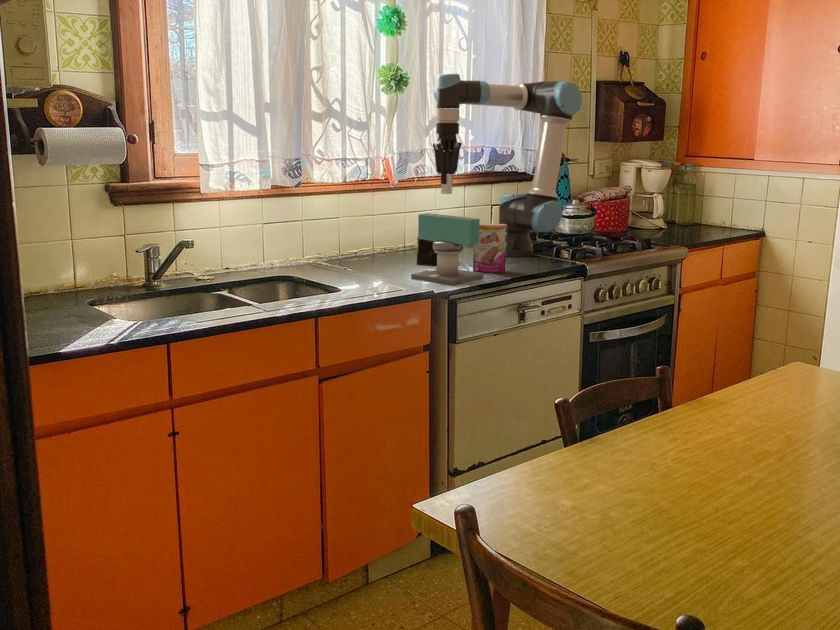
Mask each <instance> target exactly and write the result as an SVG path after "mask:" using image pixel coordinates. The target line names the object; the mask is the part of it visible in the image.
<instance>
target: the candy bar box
mask: <svg viewBox="0 0 840 630" xmlns="http://www.w3.org/2000/svg"><path fill="white" fill-rule="evenodd" d="M506 245H507V224H499V223H486V222H485V223H481V222H479V244H475V245H473V260H472V261H473V262H472V263H473V264H472V271H473V272H479V273H483V274H484V273H487V274H489V273H490V274H494V273H495V274H506V267H507V266H506V264H507V263H506V262H507V256H506Z"/></svg>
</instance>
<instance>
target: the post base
mask: <svg viewBox="0 0 840 630" xmlns="http://www.w3.org/2000/svg"><path fill="white" fill-rule="evenodd" d="M434 252H435V253H437V266H436V267H435V268H426V269H425V270H424V271H419V272H414V273H411V275H410V277H411V278H410V279H412V280H418V281H425V282H430V283H436V284H440V285H446V286H451V287H453V286H456V285H457V286H458V285H460V284H461V285H462V284H464V283H468V282H469V283H470V282H472V281H476V280H480V279H483V278H484V273H483V272H473V270H466V269H459V254H462V252H463V251H462V250H460V251H438V250H434Z"/></svg>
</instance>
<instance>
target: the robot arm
mask: <svg viewBox="0 0 840 630" xmlns="http://www.w3.org/2000/svg"><path fill="white" fill-rule="evenodd" d="M582 96H583V95H582V92H581V90H580V89H579V86H578V85H577V84H576V83H574V82H572V81H570V80H569V81H567V80H552V81H549V80H547V81H544V80H543V81H537V82H528V83H527V82H526V83H523V82H522V83H521V82H519V83H516V84H515V85H512V84H511V85H509V84H494V83H493V84H492V83H488V82H487V81H485V80H463V79H461V76H460V74H459V73H440V74H438V76H437V78H436V85H435V87H434V89H433V97H434V99H435V100H436V121H438V122H436V124H435V127H436V129H435V131H436V132H435V133H436V134H437V135H438V138H437V141H436V142H435V143H432V148H433V150H434V159H435V169H436V172H437V174H438V175H440V188H441V189H440V194H441V195H442V194H443V195H449V194H450V195H452V193H453V179H454V177H453V176H454V175H455V174H456V173H457V171H458V168H459V167H458V166H459V158H460V150H461V147H462V142H459V141H458V138H457V135H459V133H460V123H459V121H460V105H470V106H471V105H472V106H473V105H474V106H485V107H488V106H489V107H491V106H492V107H504V108H505V107H507V108H513V109H514V110H515V111H524V112H529V113H530V112H531V113H534V114H539V118H540V120H541V121H542V128H541V132H540V137H539V138H540V139H539V144H538V150H537V157H536V161H535V167H534V174H533V180H532V185H531V186H532V187H531V189H529V190H528V191H527V192H526V193H514V194H513V193H512V194H502V195H501V196H500V198H499V204H498V208H499V210H498V224H507V245H506V257H508V258H510V257H512V258H515V257H516V258H519V257H520V258H521V257H530V256H533V255H534V248H533V244H532V240H531V237H530V231H535V232H536V233H537V232H538V233H550V232H552V231H553V230H555V229H556V228H557V227H558V226H559V225H560V223H561V220H562V218H563V209H562V206H561V204H560V203H559V202H558V201H559V196H558V194H557V192H556V190H557V184H558V183H557V182H558V178H559V171H560V167H561V166H560V165H561V161H562V154H563V151H564V144H565V138H566V132H567V127H568V125H569V124H571V123H572V122H573V116H574V115H576V114H578V112H579V111H580V110H581V107H582V104H583V97H582Z"/></svg>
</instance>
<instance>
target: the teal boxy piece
mask: <svg viewBox="0 0 840 630" xmlns="http://www.w3.org/2000/svg"><path fill="white" fill-rule="evenodd" d="M480 220H481V219H480V218H476V217H475V218H474V217H465V216H456V215H446V214H436V213H429V212H427V213H418V222H417V223H418V233H417V235H418V236H417V237H418V239H424V240H432V241H433V249H434V250H438V251H460V250H463V251H464V246H474V245H475V244H479V223H480Z"/></svg>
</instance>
